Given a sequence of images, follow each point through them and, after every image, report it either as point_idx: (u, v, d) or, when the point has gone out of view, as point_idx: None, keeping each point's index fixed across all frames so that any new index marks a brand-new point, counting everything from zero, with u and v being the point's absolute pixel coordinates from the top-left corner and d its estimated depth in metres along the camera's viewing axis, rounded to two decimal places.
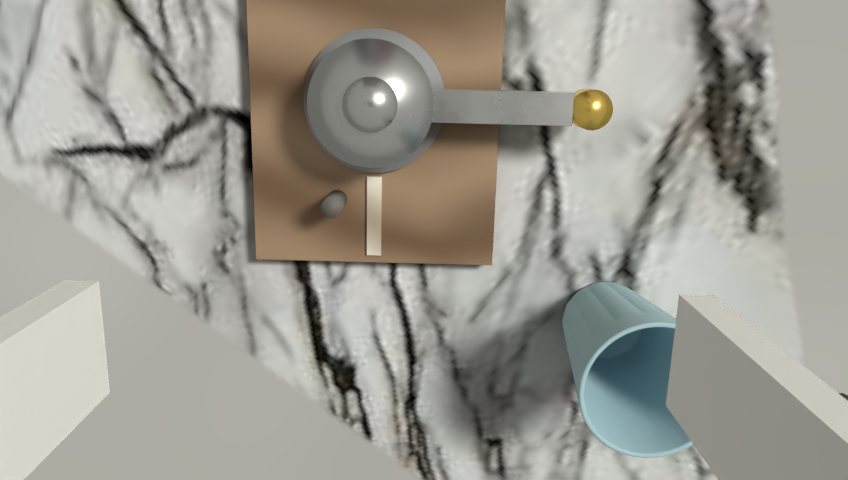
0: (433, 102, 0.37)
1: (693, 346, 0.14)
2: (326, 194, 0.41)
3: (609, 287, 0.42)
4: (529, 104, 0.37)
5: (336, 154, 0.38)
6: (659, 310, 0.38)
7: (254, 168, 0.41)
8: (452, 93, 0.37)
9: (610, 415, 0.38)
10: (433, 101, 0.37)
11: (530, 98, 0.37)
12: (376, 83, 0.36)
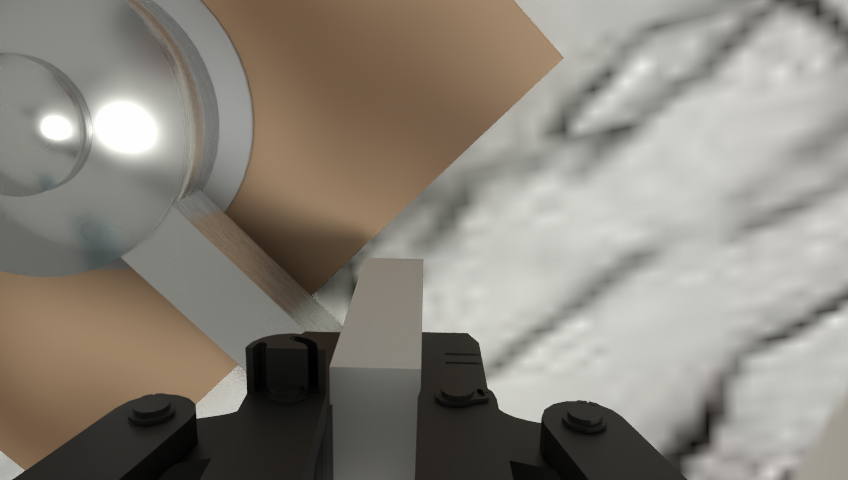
0: (151, 229, 0.15)
1: None
2: None
3: None
4: None
5: None
6: None
7: None
8: (201, 244, 0.16)
9: None
10: (156, 226, 0.15)
11: None
12: (55, 100, 0.14)
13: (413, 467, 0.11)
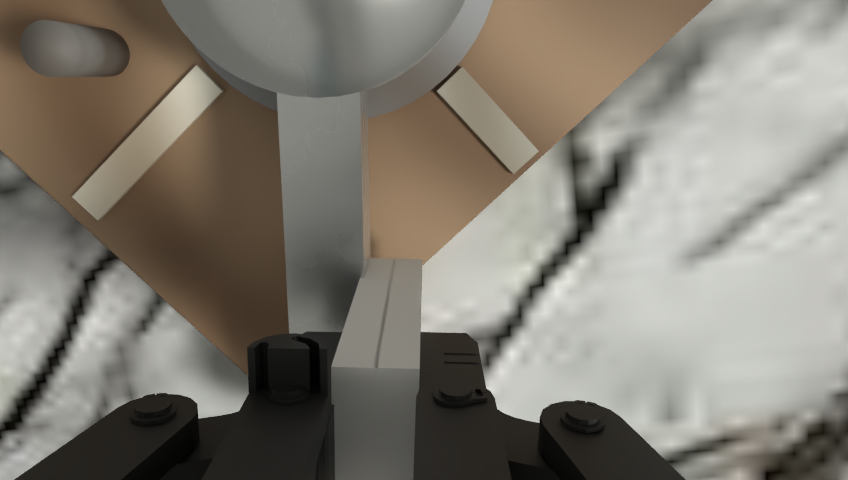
0: (326, 95, 0.14)
1: None
2: (93, 24, 0.17)
3: None
4: (336, 326, 0.16)
5: None
6: None
7: None
8: (352, 143, 0.15)
9: None
10: (330, 96, 0.15)
11: None
12: None
13: (412, 467, 0.11)
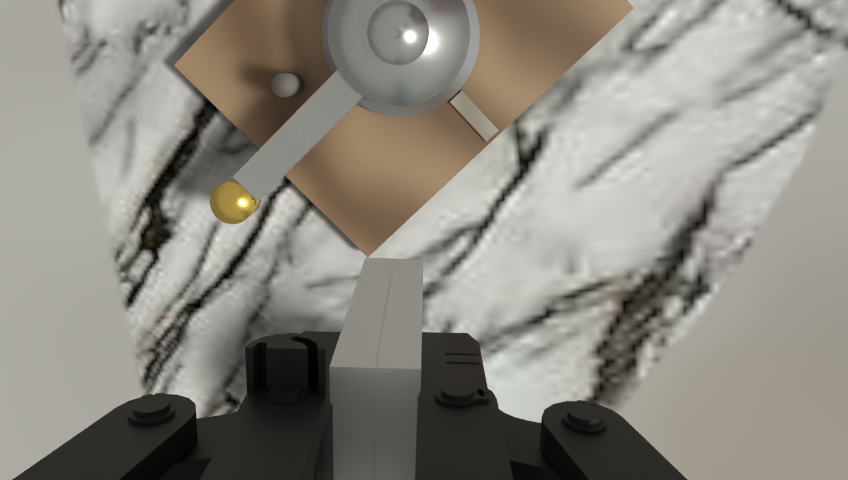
0: (352, 86, 0.34)
1: None
2: (288, 71, 0.37)
3: None
4: (280, 160, 0.35)
5: None
6: None
7: None
8: (345, 108, 0.34)
9: None
10: (352, 87, 0.34)
11: (284, 165, 0.35)
12: (409, 56, 0.32)
13: (413, 467, 0.11)
